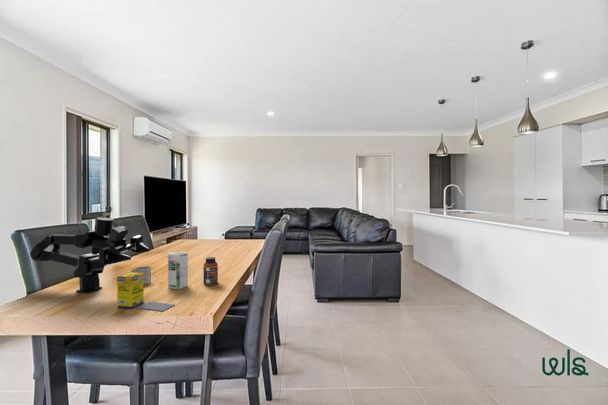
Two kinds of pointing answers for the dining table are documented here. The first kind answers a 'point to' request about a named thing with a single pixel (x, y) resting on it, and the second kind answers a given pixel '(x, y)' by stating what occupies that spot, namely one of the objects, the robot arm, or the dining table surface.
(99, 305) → the dining table surface
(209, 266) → the supplement bottle
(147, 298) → the dining table surface
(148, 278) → the grey box
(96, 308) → the dining table surface
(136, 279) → the supplement box
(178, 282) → the syrup box
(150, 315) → the dining table surface
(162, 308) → the mat
